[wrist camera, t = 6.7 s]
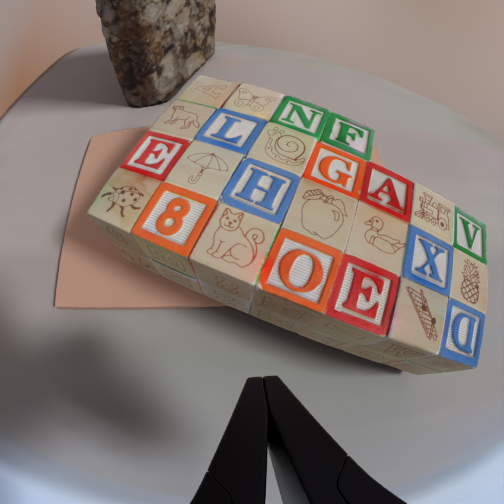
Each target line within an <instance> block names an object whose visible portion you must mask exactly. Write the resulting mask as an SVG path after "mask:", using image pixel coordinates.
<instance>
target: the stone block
mask: <svg viewBox="0 0 504 504" xmlns="http://www.w3.org/2000/svg"><path fill="white" fill-rule="evenodd" d="M96 11H97V14H98V16H99V17H100V18H101V24H102V32H103V35H104V37H105V39H106V44H107V49H108V52H109V55H110V60H111V62H112V64H113V66H114V69H115V72H116V74H117V78H118V82H119V84H120V86H121V88H122V91H123V93H124V96H125V98H126V100H127V103H128V104H129V105H130V106H136V107H143V106H148V105H151V104H157V103H159V102H162V103H163V102H164V101H167V100H170V99H171V98H172V97H173V96H174V95H176V94H177V92H178V91H179V90H180V89H181V87H182V86H183V85H184V84H185V83H186V82H187V81H188V80H189V79H190V78H191V77H192V76H193V75H194V74H195V73H196V72H197V71H198V70H199V68H200V67H201V66H203V65H204V64H205V63H206V61H207V60H208V59H209V58H210V57H211V56H212V55H213V54H214V53H215V37H214V33H215V23H216V17H215V14H216V5H215V0H96Z"/></svg>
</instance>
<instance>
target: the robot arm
mask: <svg viewBox="0 0 504 504" xmlns="http://www.w3.org/2000/svg"><path fill="white" fill-rule="evenodd" d="M267 449H269V453H270V457H271V461H272V465H273V468H274V472H275V476H276V480H277V483H278V487H279V491H280V494H281V498H282V501H283V504H407V503H406V502H404V501H403V500H401V499H400V498H398V497H397V496H396V495H394V494H393V493H391V492H390V491H388V490H387V489H386V488H384V487H383V486H382V485H381V484H379V483H378V482H377V481H375V480H374V479H373V478H372V477H371V476H369V475H368V474H367V473H366V472H365V471H364V470H363V469H362V468H361V467H360V466H359V465H358V464H357V463H356V462H355V461H354V460H353V459H352V458H351V457H350V456H347V455H348V454H347V453H346V452H345V451H344V450H343V449H342V448H341V447H340V446H339V444H338V443H337V442H336V441H335V440H334V439H333V438H332V437H331V436H330V435H329V434H328V433H327V432H326V430H325V429H324V428H323V427H322V426H321V425H320V424H319V423H318V422H317V420H316V419H315V418H314V417H313V416H312V415H311V414H310V413H309V412H308V410H307V409H306V408H305V407H304V406H303V405H302V404H301V402H300V401H299V400H298V399H297V398H296V397H295V396H294V394H293V393H292V392H291V391H290V390H289V389H288V387H287V386H286V385H285V384H284V383H283V382H282V380H281V379H280V378H279V377H278V376H265V377H263V379H262V377H250V378H248V379H247V380H246V383H245V385H244V388H243V390H242V392H241V395H240V397H239V400H238V402H237V404H236V407H235V409H234V411H233V414H232V416H231V418H230V421H229V423H228V425H227V428H226V430H225V432H224V435H223V437H222V439H221V441H220V444H219V446H218V448H217V450H216V453H215V455H214V457H213V459H212V461H211V464H210V466H209V468H208V472H206V474H205V476H204V478H203V480H202V482H201V484H200V486H199V488H198V490H197V492H196V494H195V496H194V498H193V499H192V501H191V502H190V504H265V498H266V475H267Z"/></svg>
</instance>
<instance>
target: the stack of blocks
mask: <svg viewBox="0 0 504 504" xmlns="http://www.w3.org/2000/svg"><path fill="white" fill-rule="evenodd" d="M374 136H375V131H374V130H373V129H371V128H368V127H366V126H364V125H362V124H360V123H358V122H355V121H353V120H351V119H348V118H346V117H344V116H341V115H339V114H336V113H331V112H330V111H329V110H327V109H325V108H322V107H320V106H317V105H314V104H311V103H309V102H306V101H303V100H300V99H298V98H294V97H292V96H286V97H285V95H284V94H281V93H278V92H275V91H272V90H269V89H265V88H261V87H258V86H255V85H250V84H247V83H243V84H239V83H236V82H231V81H227V80H223V79H217V78H213V77H208V76H202V75H200V76H199V77H198V78H197V79H196V80H195V81H194V82H193V83H192V84H191V85H190V86H189V87H188V88H187V89H186V90H185V91H184V92H183V93H182V94H181V95H180V96H179V97H178V98H177V99H175V100H174V101H173V102H172V103H171V104H170V105H169V107H168V108H166V110H165V111H164V112H163V113H162V114H161V115H160V116H159V117H158V119H157V120H156V121H155V122H154V123H153V124H152V126H151V127H150V130H149V131H147V133H146V134H145V135H144V136H143V137H142V138H141V140H140V141H139V142H138V143H137V145H136V146H135V147H134V148H133V150H132V151H131V152H130V153H129V155H128V156H127V157H126V159H125V160H124V161H123V163H122V165H121V166H120V167H119V168H117V169H116V170H115V172H114V173H113V175H112V176H111V177H110V179H109V180H108V181H107V183H106V184H105V185H104V187H103V188H102V190H101V191H100V193H99V194H98V196H97V197H96V199H95V201H94V202H93V204H92V205H91V207H90V208H89V210H88V212H87V214H88V215H89V217H90V218H91V219H92V220H93V222H94V223H95V224H96V225H97V226H98V228H99V229H100V230H101V231H102V232H103V233H104V235H105V236H106V237H107V238H108V239H109V241H110V242H111V243H112V244H113V246H114V247H115V248H116V249H117V250H118V251H119V252H120V254H121V255H122V256H123V257H124V258H125V259H127V260H129V261H131V262H133V263H135V264H137V265H139V266H141V267H143V268H145V269H147V270H149V271H152V272H154V273H156V274H158V275H162V276H163V277H164V278H167V279H169V280H171V281H173V282H175V283H177V284H180V285H182V286H184V287H186V288H189V289H191V290H193V291H195V292H198V293H200V294H204V295H205V296H207V297H209V298H212V299H214V300H216V301H218V302H221V303H223V304H225V305H228V306H230V307H233V308H235V309H237V310H240V311H242V312H245V313H248V314H250V315H252V316H254V317H256V318H259V319H261V320H264V321H266V322H269V323H271V324H274V325H276V326H279V327H281V328H284V329H286V330H289V331H291V332H295V333H298V334H299V335H301V336H304V337H307V338H309V339H312V340H315V341H317V342H320V343H323V344H326V345H329V346H332V347H334V348H337V349H342V350H343V351H346V352H348V353H351V354H354V355H356V356H359V357H363V358H366V359H369V360H371V361H374V362H378V363H384V364H385V365H389V366H392V367H395V368H398V369H401V370H404V371H407V372H410V373H413V374H417V375H420V374H432V373H442V372H452V371H460V370H467V369H473V368H477V364H478V359H479V354H480V348H481V342H482V336H483V329H484V321H485V315H484V314H485V311H486V304H487V291H488V267H487V266H486V265H487V241H486V226H485V224H484V223H482V222H480V221H479V220H477V219H476V218H474V217H473V216H471V215H469V214H468V213H466V212H465V211H463V210H461V209H460V208H458V207H456V206H454V204H453V203H451V202H450V201H448V200H446V199H445V198H443V197H441V196H439V195H438V194H436V193H434V192H432V191H430V190H428V189H427V188H425V187H423V186H421V185H419V184H417V183H413V182H411V181H409V180H407V179H406V178H404V177H402V176H400V175H398V174H396V173H394V172H392V171H389V170H387V169H385V168H383V167H381V166H379V165H377V164H375V163H372V162H371V155H372V148H373V142H374Z"/></svg>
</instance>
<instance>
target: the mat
mask: <svg viewBox="0 0 504 504" xmlns="http://www.w3.org/2000/svg"><path fill="white" fill-rule="evenodd" d="M362 125H364V126H366V125H365V124H362ZM150 127H151V126H148V127H140V128H134V129H127V130H121V131H115V132H110V133H104V134H99V135H94V136H92V138H91V141H90V144H89V147H88V150H87V153H86V156H85V159H84V162H83V165H82V168H81V172H80V175H79V178H78V182H77V185H76V189H75V193H74V197H73V201H72V205H71V209H70V213H69V217H68V222H67V227H66V231H65V236H64V242H63V247H62V253H61V259H60V266H59V273H58V280H57V289H56V299H55V307H57V308H59V309H172V308H199V307H220V306H228V305H225V304H223V303H221V302H218V301H216V300H214V299H212V298H209V297H207V296H205V295H204V294H200V293H198V292H195V291H193V290H191V289H189V288H186V287H184V286H182V285H180V284H177V283H175V282H173V281H171V280H169V279H167V278H164V277H163V276H162V275H158V274H156V273H154V272H152V271H149V270H147V269H145V268H143V267H141V266H139V265H137V264H135V263H133V262H131V261H129V260H127V259H125V258H124V257H123V256H122V255H121V254H120V252H119V251H118V250H117V249H116V248H115V247H114V246H113V244H112V243H111V242H110V241H109V239H108V238H107V237H106V236H105V235H104V233H103V232H102V231H101V230H100V229H99V228H98V226H97V225H96V224H95V223H94V222H93V220H92V219H91V218H90V217H89V215H88V214H87V212H88V210H89V208H90V207H91V205H92V204H93V202H94V201H95V199H96V197H97V196H98V194H99V193H100V191H101V190H102V188H103V187H104V185H105V184H106V183H107V181H108V180H109V179H110V177H111V176H112V175H113V173H114V172H115V170H116V169H117V168H119V167H120V166H121V165H122V163H123V161H124V160H125V159H126V157H127V156H128V155H129V153H130V152H131V151H132V150H133V148H134V147H135V146H136V145H137V143H138V142H139V141H140V140H141V138H142V137H143V136H144V135H145V134H146V133H147V131H149V130H150ZM371 162H372V163H375V164H377V165H379V166H381V167H383V164H382V162H381V159H380V157H379V154H378V152H377V150H376V147H375V145H374V143H373V148H372V155H371ZM383 168H384V167H383Z"/></svg>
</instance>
